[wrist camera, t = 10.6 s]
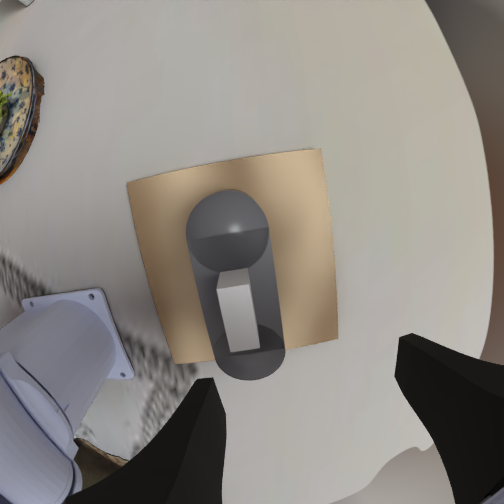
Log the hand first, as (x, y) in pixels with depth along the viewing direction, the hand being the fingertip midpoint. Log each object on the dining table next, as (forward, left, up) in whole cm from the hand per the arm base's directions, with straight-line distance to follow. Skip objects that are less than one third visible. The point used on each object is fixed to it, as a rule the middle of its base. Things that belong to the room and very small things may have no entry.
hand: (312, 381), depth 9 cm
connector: (-2, +2, -9) cm, 9 cm away
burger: (-21, +18, -10) cm, 30 cm away
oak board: (-2, +2, -10) cm, 10 cm away
